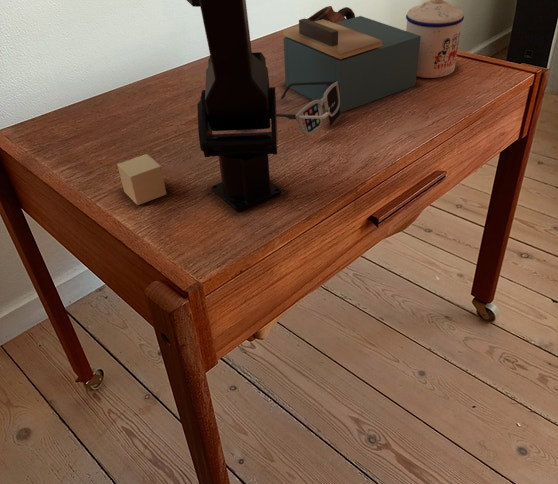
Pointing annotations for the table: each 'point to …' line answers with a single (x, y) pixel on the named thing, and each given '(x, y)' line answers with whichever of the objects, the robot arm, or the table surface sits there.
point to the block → (142, 179)
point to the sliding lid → (331, 38)
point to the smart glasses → (312, 114)
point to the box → (356, 65)
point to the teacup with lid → (436, 36)
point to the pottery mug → (333, 14)
